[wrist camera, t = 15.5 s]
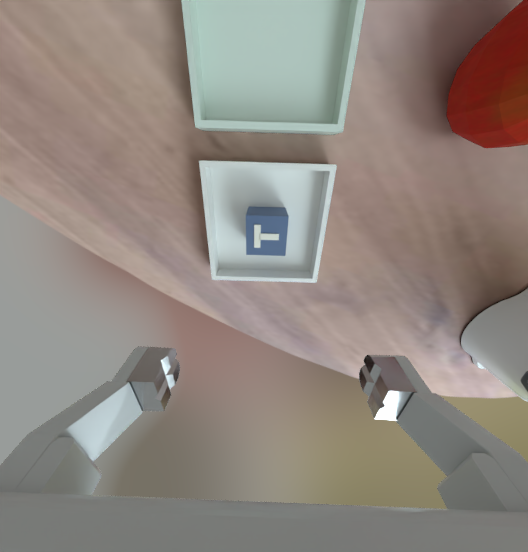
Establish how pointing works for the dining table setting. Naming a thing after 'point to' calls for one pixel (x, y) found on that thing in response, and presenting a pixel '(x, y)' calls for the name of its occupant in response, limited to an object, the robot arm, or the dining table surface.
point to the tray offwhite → (266, 193)
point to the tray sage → (271, 63)
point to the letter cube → (266, 231)
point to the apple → (494, 86)
